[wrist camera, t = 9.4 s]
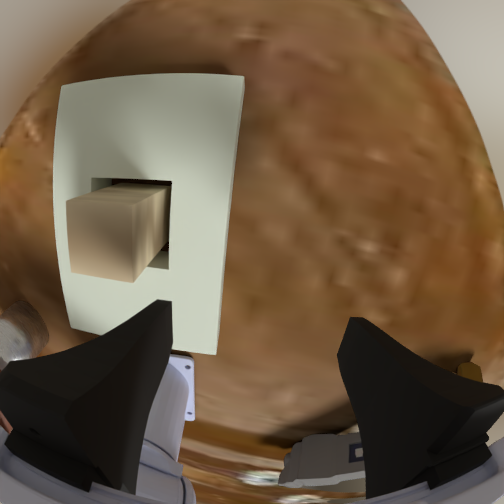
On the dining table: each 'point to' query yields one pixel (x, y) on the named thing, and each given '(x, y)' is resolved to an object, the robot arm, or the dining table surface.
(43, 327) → the round peg
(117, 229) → the square peg
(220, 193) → the socket plate
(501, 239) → the dining table surface
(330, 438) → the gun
